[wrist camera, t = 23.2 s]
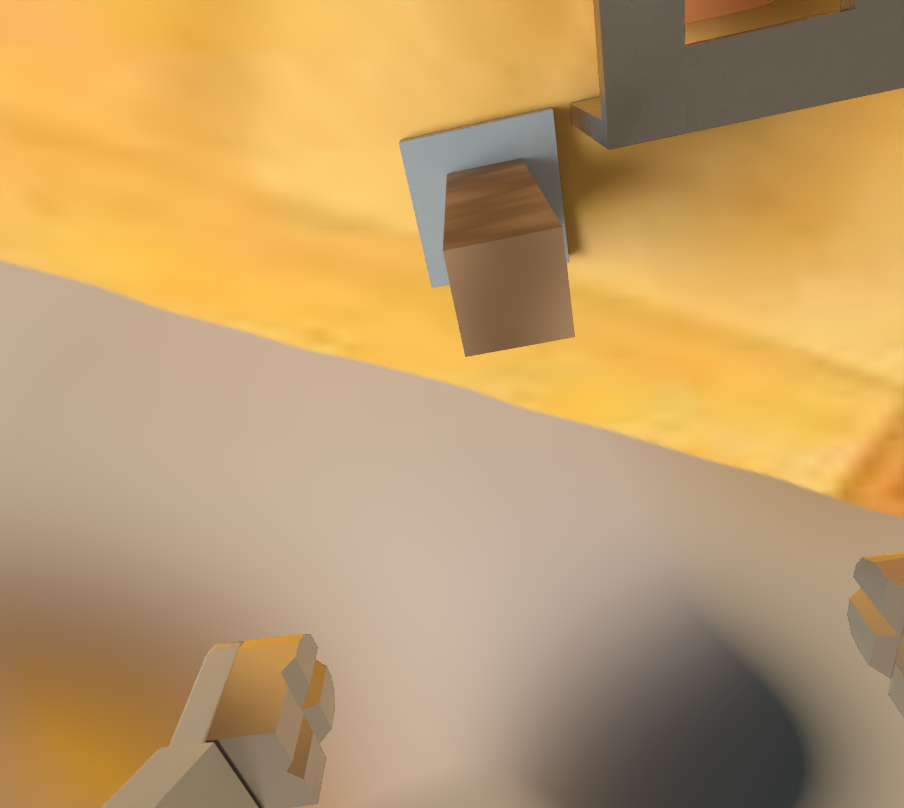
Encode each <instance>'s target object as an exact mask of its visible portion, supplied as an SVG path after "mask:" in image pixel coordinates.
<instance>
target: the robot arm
mask: <svg viewBox="0 0 904 808" xmlns="http://www.w3.org/2000/svg"><path fill="white" fill-rule="evenodd" d="M854 578H855V580H856V581H857V583H858V584H859V585H860V587H861V588H860V589H859V590H858V591H857V592H856V593H855V594H854V595H853V596H852V597H851V598H849V606H848V613H847V616H848V621H849V625H850V630H851V634H852V636H853V638H854V640H855V643H856V645H857V647H858V649H859V651H860V652H861V654H862V655H863V657H864V658H865V660H866V661H867V663H868V665H869V666H871V667H873V668H874V669H876V670H877V671H879V672H881V673H882V674H884V675H886V676H887V677H889V678H890V684H889V692H888V695H889V696H890V698H891V699H892V701H893V702H894V704H895V705H896V707H897V708H898V710H899V711H900V712H901V714H902V716H903V717H904V552H897V553H890V554H883V555H877V556H870V557H863V558H861V559H860V561H858V563H857V564H856V567H855V571H854ZM317 650H318V647H317V645H316V643H315V641H314V639H313V637H312V636H311V634H301V635H292V636H283V637H273V638H265V639H256V640H246V641H239V642H231V643H222V644H215V646H213V647H212V649H211V650H210V651H209V652H208V653H207V655H206V657H205V660H204V662H203V665H202V667H201V669H200V672H199V674H198V677H197V679H196V682H195V684H194V687H193V689H192V691H191V694H190V696H189V699H188V701H187V704H186V706H185V709H184V711H183V713H182V716H181V718H180V721H179V723H178V726H177V728H176V730H175V733H174V735H173V738H172V740H171V743H170V745H169V747H165V748H159V749H158V750H157V751H156V752H155V753H154V754H153V755H152V756H151V757H150V758H149V759H148V760H147V761H146V762H145V763H144V764H143V765H142V766H141V767H140V768H139V769H138V771H137V772H135V773H134V774H133V775H132V777H131V778H130V779H129V780H128V781H127V782H126V783H125V784H124V785H123V786H122V787H121V788H120V789H119V790H118V791H117V792H116V793H115V794H114V795H113V796H112V797H111V798H110V799H109V800H108V801H107V802H106V803H105V804H104V805H103V806H102V807H101V808H291V807H299V806H306V805H314V804H318V800H319V795H320V790H321V784H322V779H323V773H324V768H325V762H326V756H325V754H324V752H323V750H322V748H321V747H320V743H321V741H322V740H323V739H324V738H325V736H326V735H327V734H328V733H329V731H330V730H331V728H332V723H333V717H334V711H335V703H334V701H335V697H334V686H333V681H332V677H331V674H330V672H329V670H328V668H327V666H326V665H324V664H322V663H321V662H319V661H317V660H316V655H317Z"/></svg>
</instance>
